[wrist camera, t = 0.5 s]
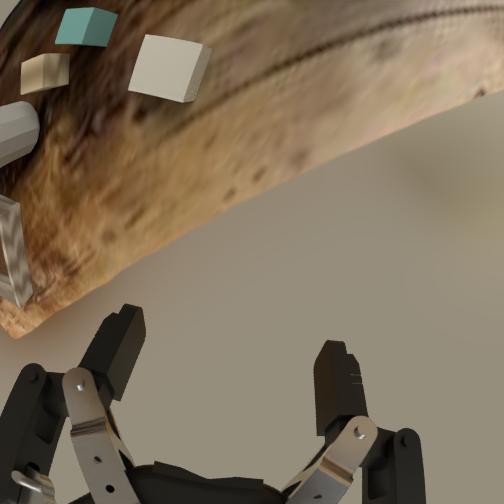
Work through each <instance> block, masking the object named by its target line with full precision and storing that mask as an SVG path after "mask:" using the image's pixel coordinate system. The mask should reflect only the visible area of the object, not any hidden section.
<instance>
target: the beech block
mask: <svg viewBox="0 0 504 504" xmlns="http://www.w3.org/2000/svg"><path fill="white" fill-rule="evenodd" d="M69 60H70V54H42V55H40V56H37V57H35V58H32V59H30V60H28V61H25V62H23V63H22V70H21V95H23V94H27V93H32V92H37V91H43V90H48V89H51V88H55V87H59V86H63V85H67V84H68V81H69Z"/></svg>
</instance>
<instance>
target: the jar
mask: <svg viewBox="0 0 504 504" xmlns="http://www.w3.org/2000/svg"><path fill="white" fill-rule="evenodd" d="M39 130H40V123H39V117H38V114H37V112H36V111H35V109H34V108H33V106H32V105H31V104H30V103H27V102H23V101H20V102H16V103H12V104H9V105H5V106H2V107H0V167H2V166H4V165H6V164H8V163H10V162H12V161H14V160H16V159H18V158H20V157H22V156H24V155H26V154H28V153H30V152H31V151H32V149H33V148H34V146H35V144H36V142H37V140H38V136H39Z"/></svg>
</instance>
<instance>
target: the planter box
mask: <svg viewBox="0 0 504 504" xmlns="http://www.w3.org/2000/svg"><path fill="white" fill-rule="evenodd" d="M0 236H1V241H2V247H3V252H4V256H5V261H6V265H7V270H8V274H9V276H7V275H5V274H2V273H0V296H2V297H3V298H5V299H6V300H8V301H9V302H11V303H12V304H14V305H15V306H17V307H19V308H20V309H21V308H22V307H23V306H24V304H25V303H26V302H27V301H28V299H29V298H30V297H31V296H32V294H33V289H32V284H31V280H30V275H29V270H28V265H27V259H26V253H25V246H24V239H23V231H22V222H21V211H20V203H18V202H16V201H14V200H11V199H9V198H7V197H5V196H3V195H0Z"/></svg>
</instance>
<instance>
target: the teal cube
mask: <svg viewBox="0 0 504 504" xmlns="http://www.w3.org/2000/svg"><path fill="white" fill-rule="evenodd" d="M117 16H118V15H117V14H114V13H111V12H108V11H105V10H101V9H98V8H94V7H93V8H76V9H66V11H65V14H64V17H63V20H62V23H61V26H60V29H59V32H58V35H57V38H56V41H55V44H72V45H91V46H106V47H107V44H108V41H109V38H110V35H111V32H112V29H113V27H114V24H115V21H116V19H117Z"/></svg>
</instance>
